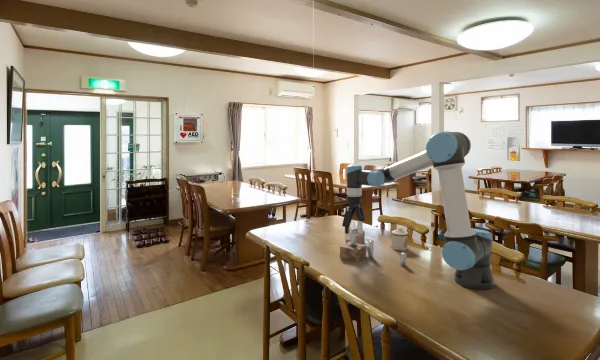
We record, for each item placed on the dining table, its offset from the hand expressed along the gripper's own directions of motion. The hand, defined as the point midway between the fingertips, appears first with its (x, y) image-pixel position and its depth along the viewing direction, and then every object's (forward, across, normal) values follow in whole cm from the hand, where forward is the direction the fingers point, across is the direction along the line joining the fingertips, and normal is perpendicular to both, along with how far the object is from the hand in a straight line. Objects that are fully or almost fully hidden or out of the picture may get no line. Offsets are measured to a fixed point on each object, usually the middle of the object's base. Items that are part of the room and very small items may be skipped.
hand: (353, 236), depth 173 cm
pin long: (+11, 0, 0) cm, 11 cm away
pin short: (+11, -4, +24) cm, 27 cm away
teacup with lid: (+11, -29, +14) cm, 34 cm away
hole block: (+11, 0, 0) cm, 11 cm away
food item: (+11, -17, -8) cm, 22 cm away
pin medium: (+11, -4, +8) cm, 14 cm away
